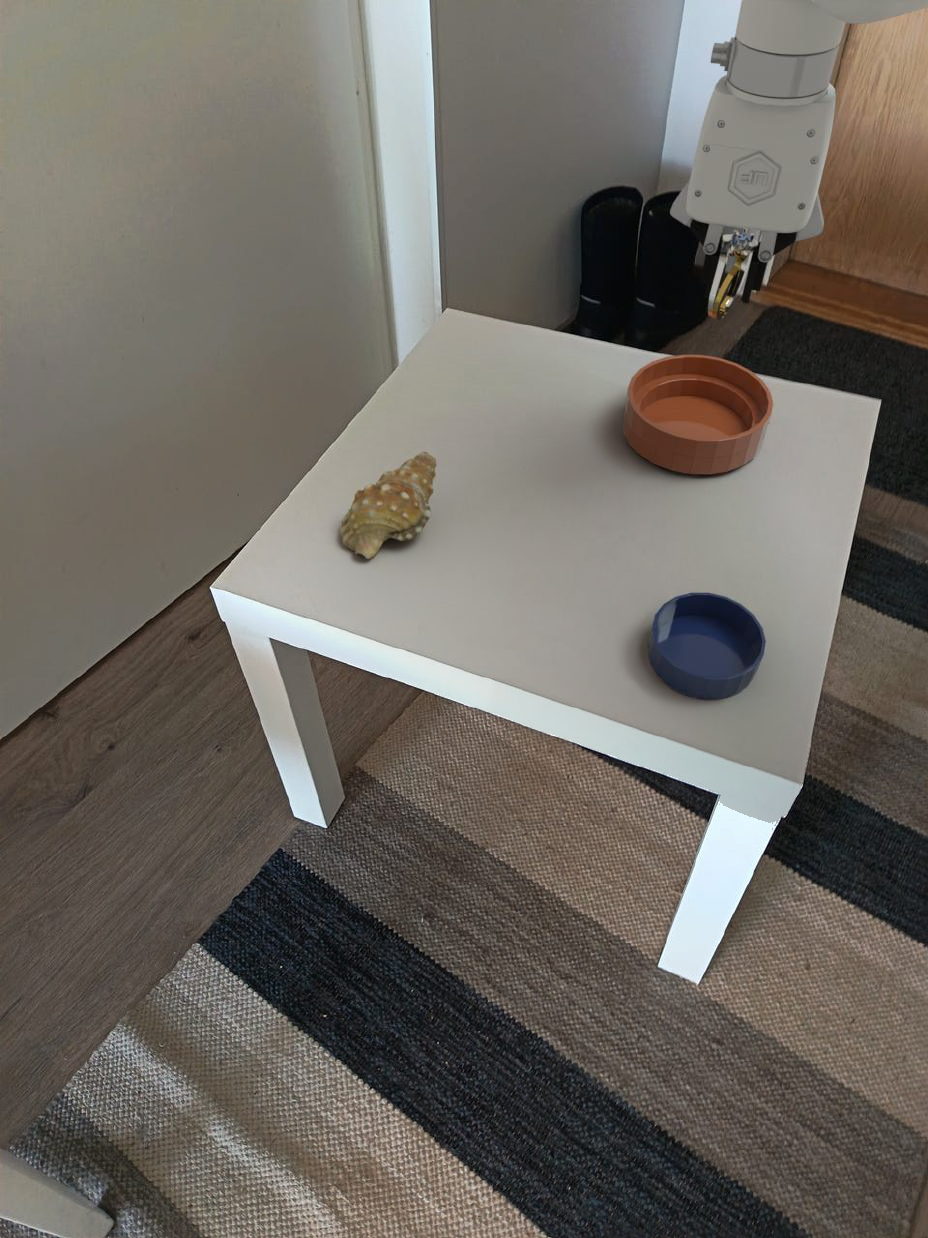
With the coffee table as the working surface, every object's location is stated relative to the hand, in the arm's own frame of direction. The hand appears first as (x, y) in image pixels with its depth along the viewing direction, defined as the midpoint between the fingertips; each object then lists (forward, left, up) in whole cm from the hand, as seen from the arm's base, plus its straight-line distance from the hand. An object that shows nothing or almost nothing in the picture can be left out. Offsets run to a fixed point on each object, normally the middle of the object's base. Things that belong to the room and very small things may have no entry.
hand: (728, 291), depth 79 cm
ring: (0, 0, -3) cm, 3 cm away
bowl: (+1, -3, -18) cm, 19 cm away
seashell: (+27, +20, -19) cm, 38 cm away
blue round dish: (-5, +28, -18) cm, 34 cm away
